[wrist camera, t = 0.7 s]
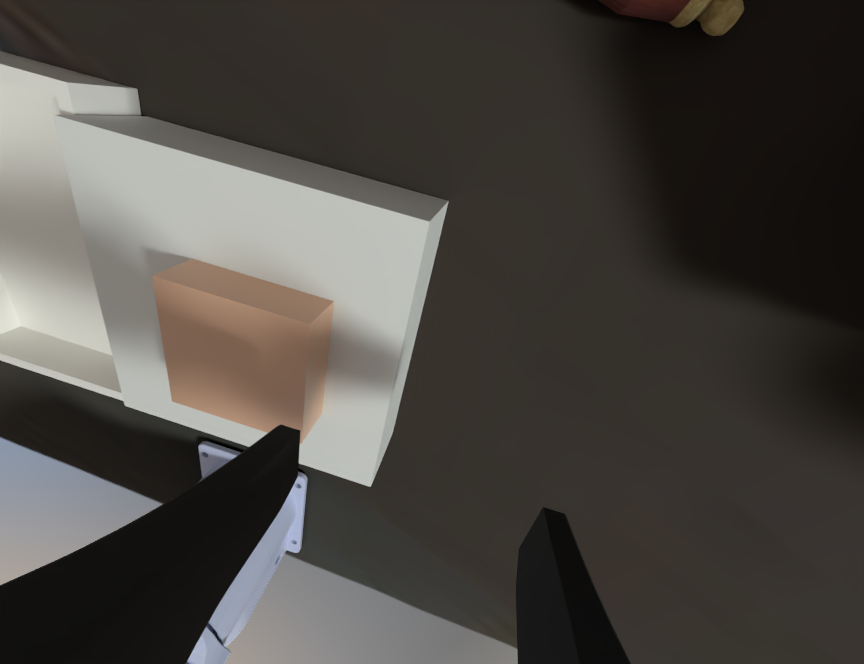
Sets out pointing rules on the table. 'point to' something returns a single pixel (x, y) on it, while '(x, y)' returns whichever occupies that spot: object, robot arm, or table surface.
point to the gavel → (683, 12)
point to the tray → (49, 227)
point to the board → (255, 264)
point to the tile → (243, 346)
